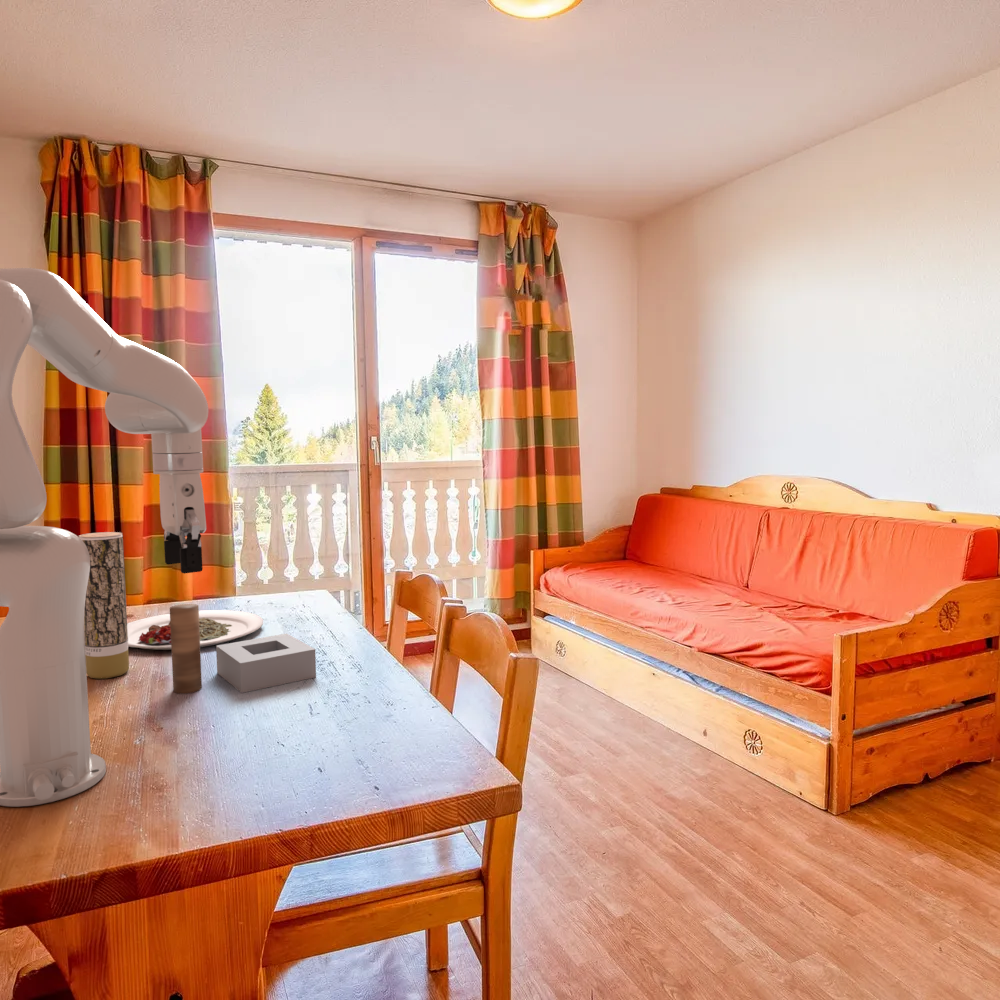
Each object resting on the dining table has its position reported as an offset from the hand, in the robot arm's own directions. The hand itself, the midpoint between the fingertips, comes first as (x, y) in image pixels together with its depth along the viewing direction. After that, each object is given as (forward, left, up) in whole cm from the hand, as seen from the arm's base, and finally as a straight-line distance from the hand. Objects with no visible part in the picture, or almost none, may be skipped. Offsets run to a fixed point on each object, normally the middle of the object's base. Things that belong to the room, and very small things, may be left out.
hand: (183, 567), depth 124 cm
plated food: (+36, -10, -21) cm, 43 cm away
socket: (-1, -13, -21) cm, 24 cm away
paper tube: (+17, +9, -21) cm, 28 cm away
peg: (0, 0, -21) cm, 21 cm away
